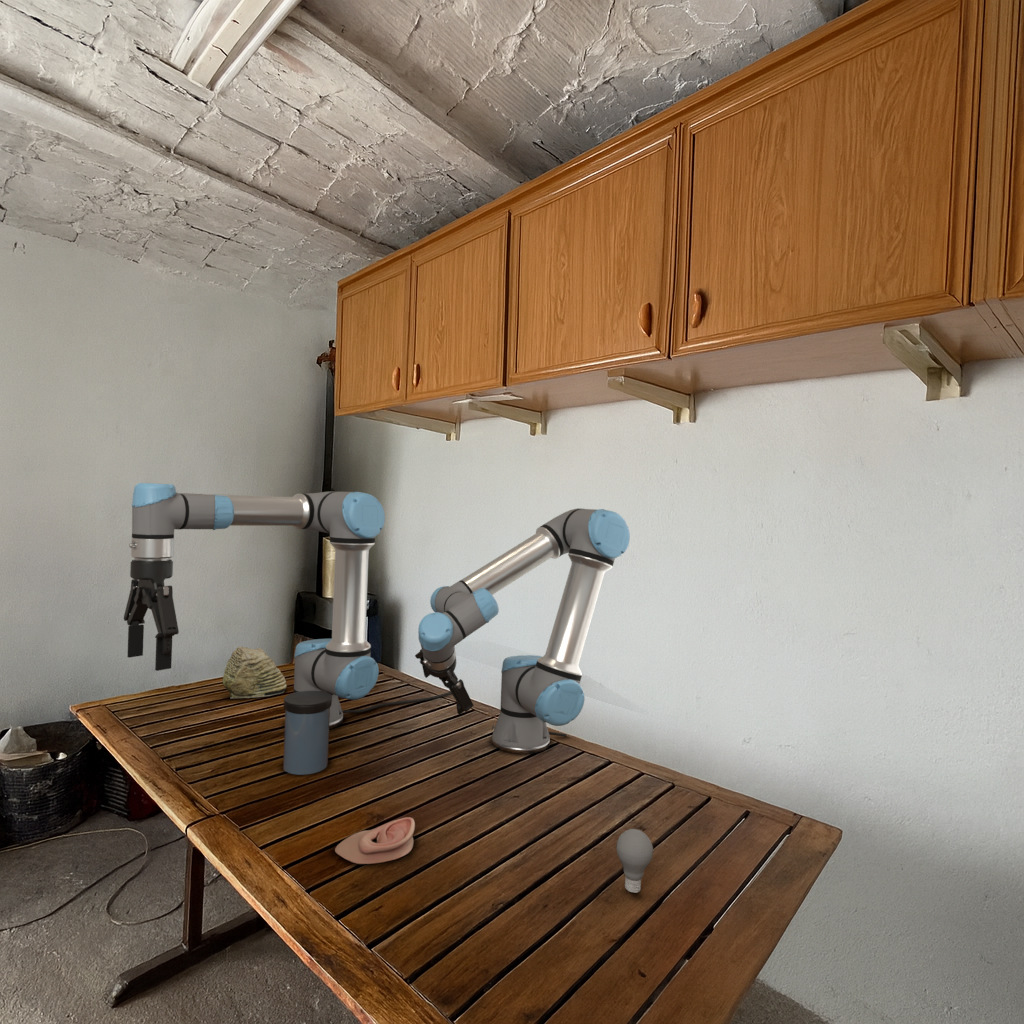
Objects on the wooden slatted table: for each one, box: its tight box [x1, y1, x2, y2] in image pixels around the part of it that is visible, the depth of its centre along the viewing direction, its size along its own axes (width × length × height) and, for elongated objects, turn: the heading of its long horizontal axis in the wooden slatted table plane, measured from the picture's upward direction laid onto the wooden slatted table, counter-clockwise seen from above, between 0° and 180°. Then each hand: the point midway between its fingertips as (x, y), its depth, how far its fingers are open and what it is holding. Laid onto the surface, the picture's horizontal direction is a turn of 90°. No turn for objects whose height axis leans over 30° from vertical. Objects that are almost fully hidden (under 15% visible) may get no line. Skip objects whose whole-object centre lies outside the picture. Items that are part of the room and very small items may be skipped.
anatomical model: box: [334, 816, 416, 865], centre depth 115 cm, size 13×4×12 cm
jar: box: [282, 708, 330, 776], centre depth 148 cm, size 10×10×16 cm
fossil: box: [222, 646, 288, 699], centre depth 198 cm, size 9×18×15 cm, turn 132°
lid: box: [283, 691, 332, 714], centre depth 148 cm, size 11×11×2 cm
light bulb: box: [615, 828, 654, 894], centre depth 106 cm, size 6×6×10 cm
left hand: (148, 662), depth 129 cm, fingers open, 13 cm apart
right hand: (445, 692), depth 166 cm, fingers open, 13 cm apart
